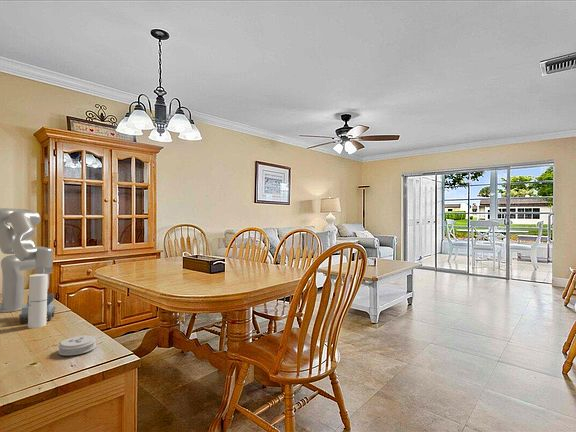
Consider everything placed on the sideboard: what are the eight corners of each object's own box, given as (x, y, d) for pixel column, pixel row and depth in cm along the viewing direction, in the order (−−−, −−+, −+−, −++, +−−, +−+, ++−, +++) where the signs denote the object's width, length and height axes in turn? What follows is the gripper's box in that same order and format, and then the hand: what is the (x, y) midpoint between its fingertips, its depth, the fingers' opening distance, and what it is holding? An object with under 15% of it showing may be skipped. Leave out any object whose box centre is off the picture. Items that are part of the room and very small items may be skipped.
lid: (99, 343, 135) (99, 331, 135) (91, 355, 123) (92, 342, 123) (64, 347, 130) (64, 335, 131) (53, 359, 119) (53, 346, 119)
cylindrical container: (38, 328, 152) (40, 276, 153) (23, 327, 152) (25, 276, 153) (49, 323, 159) (51, 273, 160) (36, 323, 160) (37, 273, 160)
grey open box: (25, 317, 168) (26, 295, 168) (55, 314, 174) (55, 293, 174) (18, 324, 157) (19, 300, 157) (50, 320, 163) (51, 297, 164)
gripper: (37, 268, 178) (36, 301, 178) (32, 273, 165) (30, 308, 165) (54, 268, 182) (52, 299, 182) (49, 272, 169) (48, 306, 169)
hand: (41, 303), depth 173 cm, fingers closed
